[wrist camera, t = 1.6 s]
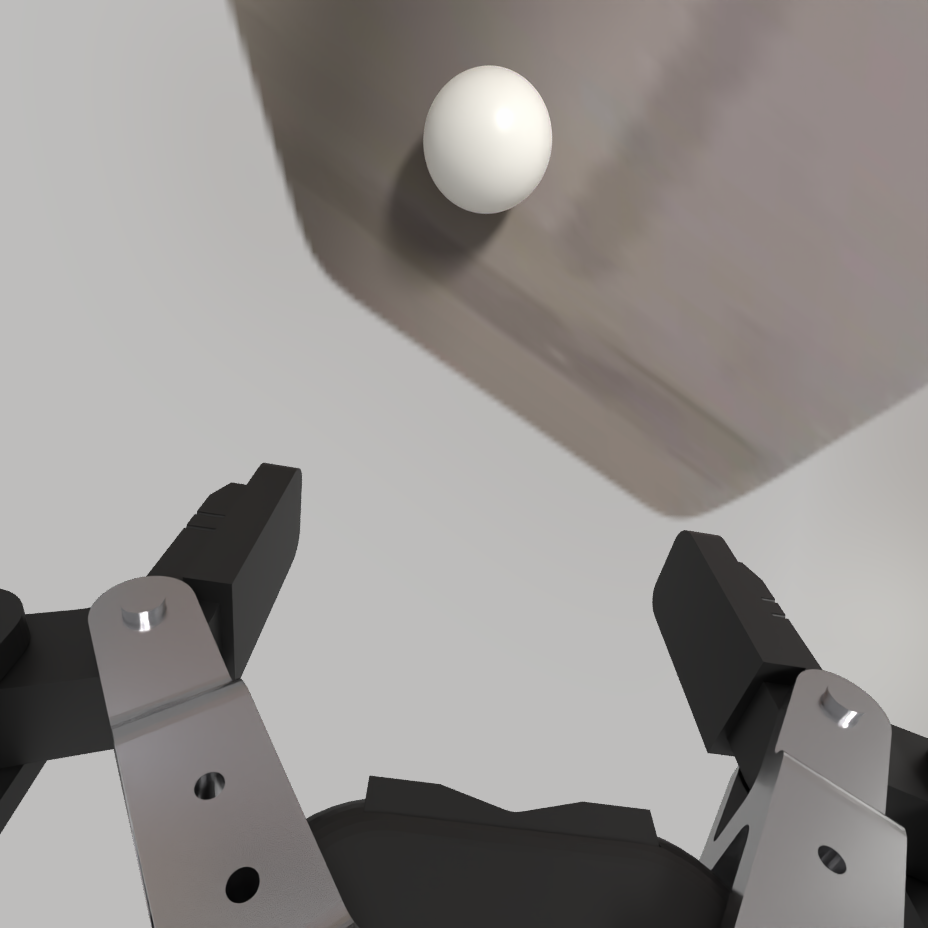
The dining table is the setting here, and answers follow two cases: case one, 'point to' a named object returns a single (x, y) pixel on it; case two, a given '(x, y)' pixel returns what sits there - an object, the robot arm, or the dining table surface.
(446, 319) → the dining table surface
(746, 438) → the dining table surface
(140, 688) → the robot arm
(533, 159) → the cue ball
